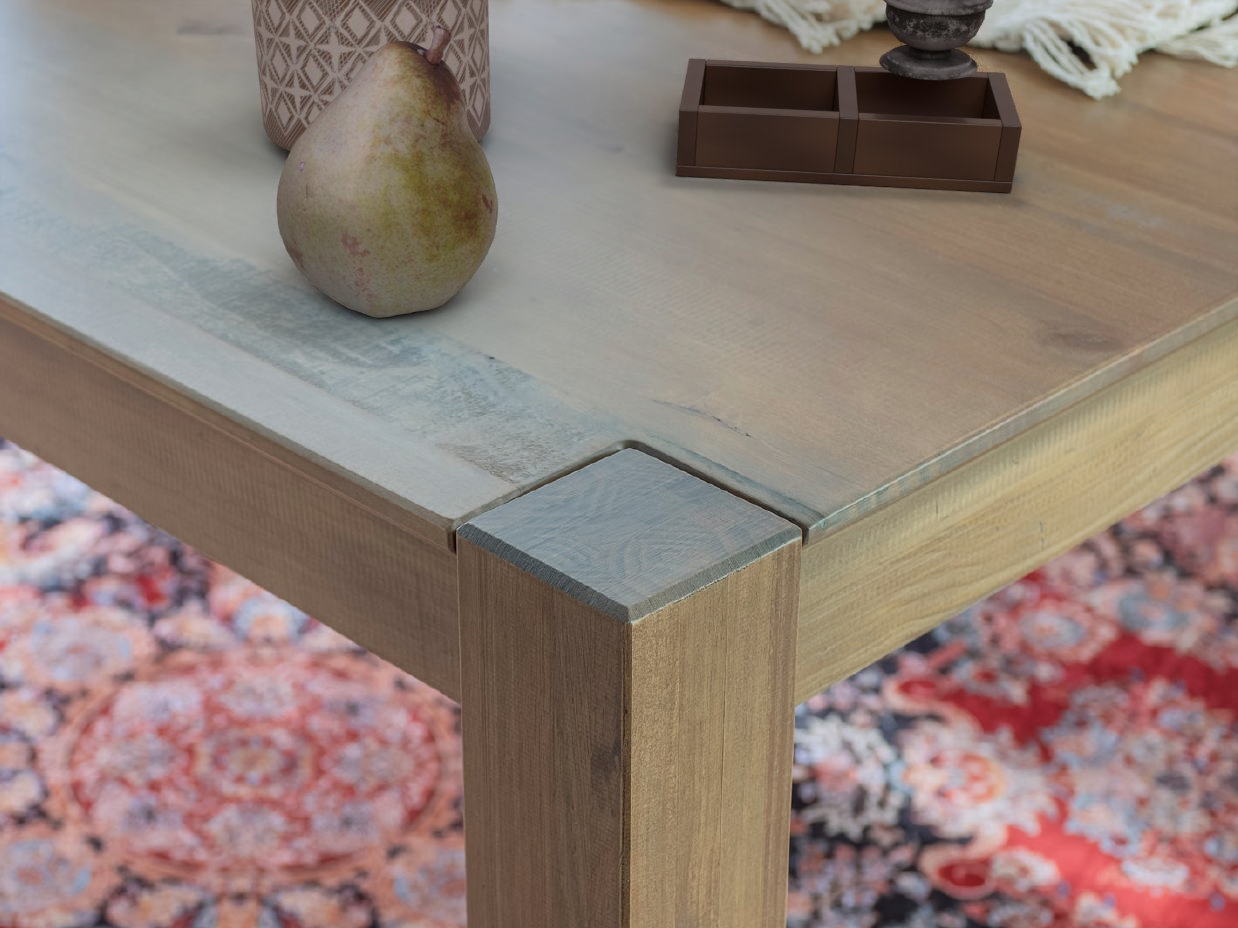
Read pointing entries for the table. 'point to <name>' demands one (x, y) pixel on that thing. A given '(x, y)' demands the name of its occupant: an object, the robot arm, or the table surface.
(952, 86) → the rack
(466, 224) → the fruit
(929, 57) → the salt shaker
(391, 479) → the table surface
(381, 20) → the planter
